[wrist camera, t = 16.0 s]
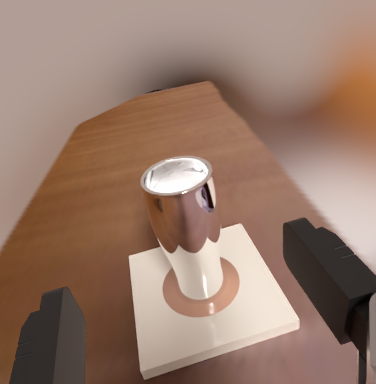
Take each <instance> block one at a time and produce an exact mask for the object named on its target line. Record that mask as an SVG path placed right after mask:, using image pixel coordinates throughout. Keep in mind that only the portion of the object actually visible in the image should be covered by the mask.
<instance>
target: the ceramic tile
mask: <svg viewBox="0 0 376 384" xmlns="http://www.w3.org/2000/svg"><path fill="white" fill-rule="evenodd" d="M220 261H221V264H222V267H223V269H224V271H225V273H226V276H227V286H226V289H225V291H224V293H223V294H222V295H221V296H220V297H219V298H218V299H217V300H215V301H213V302H211V303H209V304H205V305H192V304H189V303H186V302H184V301H183V300H182V299H180V297H179V296H178V295H177V293H176V290H175V283H174V270H173V267H172V265H171V263H170V261H169V259H168V258H167V256H166V254H165V253H164V251H163V249H162V247H158V248H155V249H151V250H148V251H144V252H141V253H138V254H134V255H131V256H129V264H130V274H131V284H132V294H133V304H134V313H135V323H136V333H137V343H138V353H139V362H140V372H141V374H142V376H143V378H144V380H146V379H149V378H152V377H155V376H158V375H161V374H164V373H167V372H170V371H173V370H176V369H179V368H182V367H185V366H188V365H191V364H194V363H197V362H200V361H203V360H206V359H209V358H212V357H215V356H218V355H221V354H224V353H227V352H230V351H233V350H236V349H240V348H243V347H246V346H249V345H252V344H255V343H258V342H261V341H264V340H267V339H270V338H273V337H276V336H279V335H282V334H285V333H288V332H291V331H294V330H297V329H299V318H298V317H297V315H296V313H295V312H294V310H293V308H292V307H291V305H290V303H289V302H288V300H287V298H286V297H285V295H284V294H283V292H282V290H281V289H280V287H279V285H278V284H277V282H276V280H275V279H274V277H273V275H272V274H271V272H270V270H269V269H268V267H267V265H266V264H265V262H264V261H263V259H262V257H261V256H260V254H259V252H258V251H257V249H256V247H255V246H254V244H253V242H252V241H251V239H250V237H249V236H248V234H247V232H246V231H245V229H244V227H243V226H242V224H241V223H240V224H236V225H233V226H230V227H226V228H223V229H221V238H220Z"/></svg>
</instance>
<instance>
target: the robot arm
mask: <svg viewBox="0 0 376 384" xmlns="http://www.w3.org/2000/svg"><path fill="white" fill-rule="evenodd" d="M283 256H284V259H285V262H286V264H287V266H288V268H289V270H290V271H291V272H292V274H293V275H294V277H295V278H296V280H297V281H298V283H299V284H300V286H301V287H302V289H303V290H304V292H305V293H306V294H307V296H308V297H309V299H310V300H311V302H312V303H313V305H314V306H315V308H316V309H317V311H318V312H319V314H320V315H321V316H322V318H323V319H324V321H325V322H326V324H327V325H328V327H329V328H330V330H331V331H332V333H333V334H334V336H335V337H336V338H337V340H338V341H339V343H340V344H341V345H342V344H345V343H348V342H351V341H352V342H353V343H354V345H355V346H356V348H357V349H358V350H357V369H356V384H376V275H375V274H374V273H373V272H372V271H371V270H370V269H369V268H368V267H367V266H366V265H365V264H364V263H363V262H362V261H361V260H360V259H359V258H358V257H357V256H356V255H354V252H353V251H352V250H351V249H350V248H349V247H348V246H346V244H345V243H344V242H343V241H342V240H341V239H340V238H339V237H338V236H337V235H336V234H335V233H333V232H331V231H329V230H327V229H325V228H323V227H320V228H317V229H315V227H314V226H313V225H312V224H311V223H310V222H309V221H308V220H307V219H306V218H300V219H297V220H293V221H290V222H286V223H284V225H283ZM85 353H86V322H85V318H84V315H83V312H82V310H81V309H80V307H79V305H78V303H77V302H76V300H75V298H74V296H73V295H72V293H71V291H70V289H69V288H68V287H62V288H59V289H55V290H52V291H49V292H45V293H44V294H43V295H42V299H41V305H40V310H39V311H36V312H33V313H31V314H30V315H29V317H28V319H27V320H26V322H25V323H24V325H23V327H22V328H21V333H20V337H19V342H18V347H17V351H16V356H15V358H16V360H15V361H14V365H13V369H12V374H11V378H10V383H9V384H85Z"/></svg>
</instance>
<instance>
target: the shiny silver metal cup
mask: <svg viewBox="0 0 376 384" xmlns="http://www.w3.org/2000/svg"><path fill="white" fill-rule="evenodd" d="M141 186H142V190H143V194H144V200H145V204H146V209H147V213H148V216H149V220H150V223H151V226H152V229H153V231H154V234H155V236H156V238H157V240H158V242H159V244H160V246H161V247H162V249H163V251H164V253H165V254H166V256H167V258H168V259H169V261H170V263H171V265H172V267H173V270H174V283H175V290H176V293H177V295H178V296H179V297H180V299H182V300H183V301H184V302H186V303H189V304H192V305H205V304H209V303H211V302H213V301H215V300H217V299H218V298H219V297H220V296H221V295H222V294H223V293H224V291H225V289H226V286H227V276H226V273H225V271H224V269H223V267H222V264H221V261H220V238H221V210H220V203H219V197H218V192H217V188H216V184H215V180H214V176H213V172H212V167H211V165H210V163H209V162H208V161H206V160H205V159H202V158H200V157H195V156H178V157H173V158H169V159H166V160H163V161H160V162H158V163H156V164H154V165H153V166H151V167H150V168H148V169H147V170H146V171H145V172H144V174H143V175H142V177H141Z"/></svg>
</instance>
